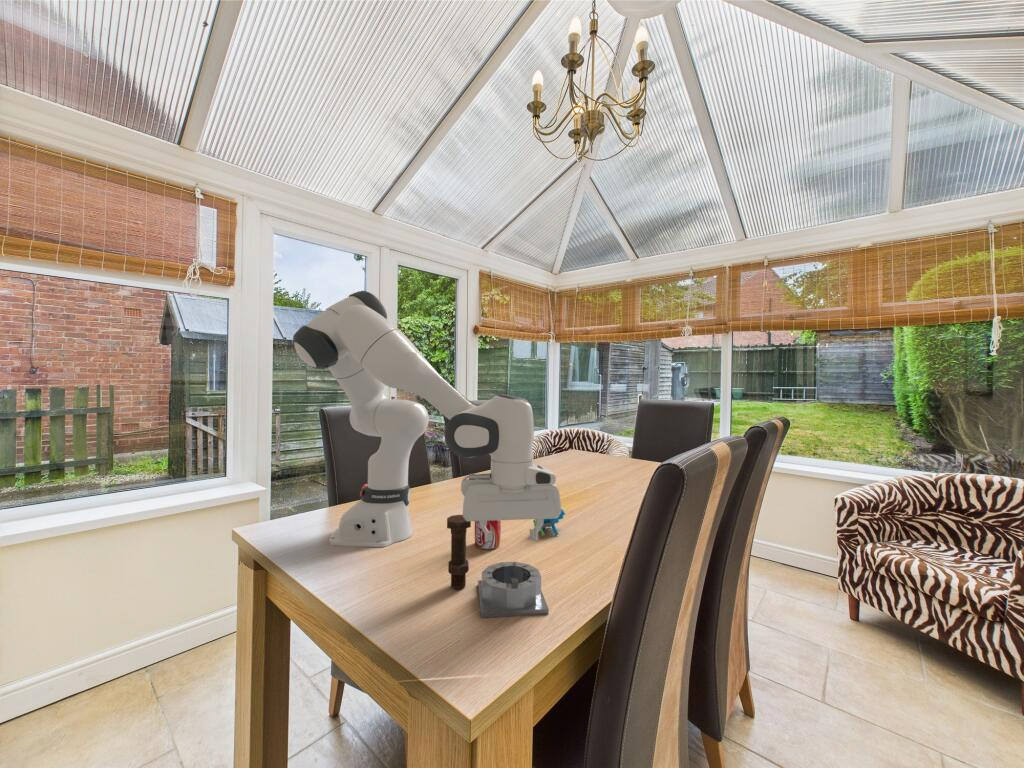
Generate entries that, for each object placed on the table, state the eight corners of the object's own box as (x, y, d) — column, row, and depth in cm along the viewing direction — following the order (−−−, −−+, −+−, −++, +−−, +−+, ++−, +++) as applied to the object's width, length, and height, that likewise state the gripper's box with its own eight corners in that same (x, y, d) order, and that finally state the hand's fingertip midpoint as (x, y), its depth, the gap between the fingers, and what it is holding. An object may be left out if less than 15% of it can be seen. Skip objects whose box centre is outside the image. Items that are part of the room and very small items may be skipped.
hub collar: (481, 618, 79) (481, 585, 79) (478, 585, 92) (478, 556, 92) (548, 613, 81) (548, 581, 81) (536, 582, 94) (536, 554, 94)
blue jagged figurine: (554, 522, 131) (568, 504, 125) (562, 539, 127) (578, 522, 122) (524, 528, 125) (538, 510, 119) (533, 546, 122) (547, 529, 116)
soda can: (469, 546, 114) (469, 502, 114) (487, 539, 119) (488, 497, 119) (487, 553, 109) (487, 507, 109) (505, 546, 114) (506, 502, 114)
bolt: (452, 596, 87) (453, 524, 87) (440, 586, 91) (441, 517, 91) (475, 587, 91) (476, 518, 91) (463, 579, 95) (464, 512, 95)
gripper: (461, 477, 82) (460, 548, 82) (563, 475, 85) (562, 544, 85) (461, 470, 88) (460, 536, 88) (556, 469, 91) (555, 532, 91)
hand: (511, 540), depth 86 cm, fingers open, 8 cm apart
